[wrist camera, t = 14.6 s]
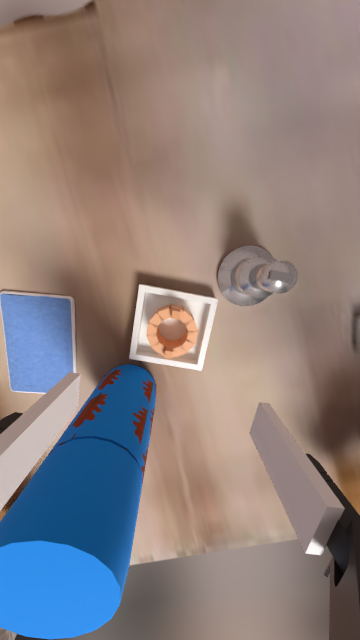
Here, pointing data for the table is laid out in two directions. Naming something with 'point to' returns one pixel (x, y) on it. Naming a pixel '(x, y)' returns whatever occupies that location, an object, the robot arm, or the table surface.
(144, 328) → the tray
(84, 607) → the thermos
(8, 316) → the tablet computer
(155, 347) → the ring
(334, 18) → the table surface
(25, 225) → the table surface
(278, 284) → the grey stepped cylinder
